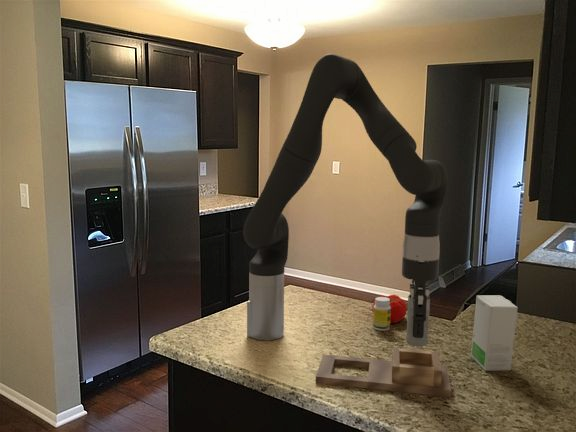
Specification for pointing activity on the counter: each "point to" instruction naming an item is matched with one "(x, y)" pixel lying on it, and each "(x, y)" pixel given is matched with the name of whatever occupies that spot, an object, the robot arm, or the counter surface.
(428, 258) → the robot arm
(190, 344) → the counter surface
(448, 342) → the counter surface
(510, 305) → the skincare box
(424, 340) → the grey hollow tube
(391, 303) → the tomato
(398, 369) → the socket board
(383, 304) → the supplement bottle
